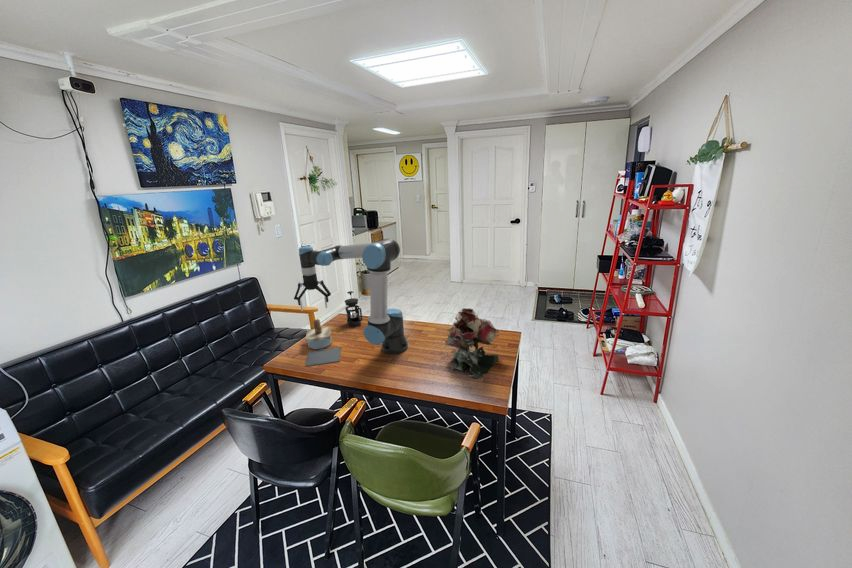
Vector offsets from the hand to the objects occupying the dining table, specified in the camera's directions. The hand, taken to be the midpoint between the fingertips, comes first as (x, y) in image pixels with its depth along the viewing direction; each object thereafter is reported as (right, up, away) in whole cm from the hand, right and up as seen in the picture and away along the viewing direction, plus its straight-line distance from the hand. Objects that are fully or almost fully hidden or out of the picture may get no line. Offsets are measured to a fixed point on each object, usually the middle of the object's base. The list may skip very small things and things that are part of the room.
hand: (314, 308), depth 206 cm
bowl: (+1, -22, +7) cm, 23 cm away
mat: (+8, -26, -8) cm, 29 cm away
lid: (+1, -16, +6) cm, 17 cm away
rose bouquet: (+88, -26, -21) cm, 94 cm away
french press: (+17, -13, +34) cm, 40 cm away
